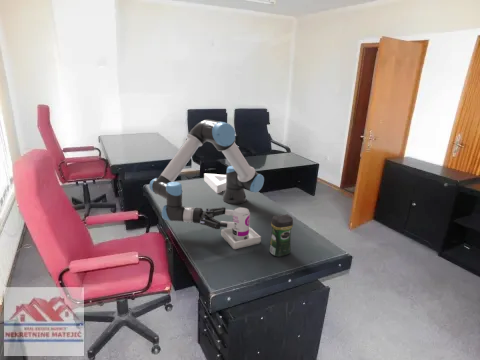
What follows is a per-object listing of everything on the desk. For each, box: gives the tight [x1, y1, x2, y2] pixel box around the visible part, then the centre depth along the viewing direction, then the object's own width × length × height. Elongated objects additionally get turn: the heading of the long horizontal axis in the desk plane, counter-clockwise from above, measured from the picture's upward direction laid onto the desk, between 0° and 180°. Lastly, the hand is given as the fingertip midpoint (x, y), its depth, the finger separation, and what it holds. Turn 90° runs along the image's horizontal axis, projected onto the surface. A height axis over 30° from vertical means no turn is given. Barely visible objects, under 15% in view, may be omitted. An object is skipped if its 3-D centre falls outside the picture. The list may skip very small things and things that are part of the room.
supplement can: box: [232, 207, 251, 241], centre depth 151 cm, size 8×8×15 cm
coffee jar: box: [268, 213, 294, 257], centre depth 141 cm, size 10×8×19 cm
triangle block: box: [203, 173, 226, 194], centre depth 224 cm, size 30×26×6 cm
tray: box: [220, 226, 262, 250], centre depth 154 cm, size 15×15×4 cm
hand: (236, 219), depth 151 cm, fingers open, 13 cm apart
